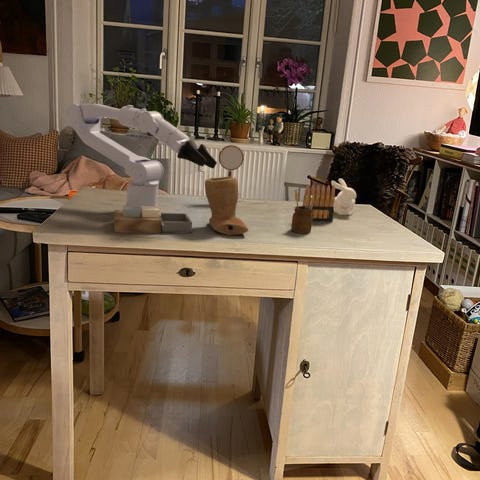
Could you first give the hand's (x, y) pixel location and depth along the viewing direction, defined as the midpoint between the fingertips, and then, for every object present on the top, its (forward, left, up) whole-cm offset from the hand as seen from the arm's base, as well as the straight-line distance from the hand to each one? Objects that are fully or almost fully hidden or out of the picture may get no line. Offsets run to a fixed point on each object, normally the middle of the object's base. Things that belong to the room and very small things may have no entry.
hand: (209, 164), depth 142 cm
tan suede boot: (+4, -4, -18) cm, 19 cm away
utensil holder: (+28, -4, -18) cm, 33 cm away
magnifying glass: (+14, +32, -18) cm, 39 cm away
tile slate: (-21, -3, -14) cm, 26 cm away
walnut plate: (-20, -3, -18) cm, 27 cm away
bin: (-10, -3, -18) cm, 20 cm away
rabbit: (+53, +20, -18) cm, 59 cm away
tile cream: (-16, -3, -14) cm, 22 cm away
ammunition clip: (+38, +8, -18) cm, 42 cm away
